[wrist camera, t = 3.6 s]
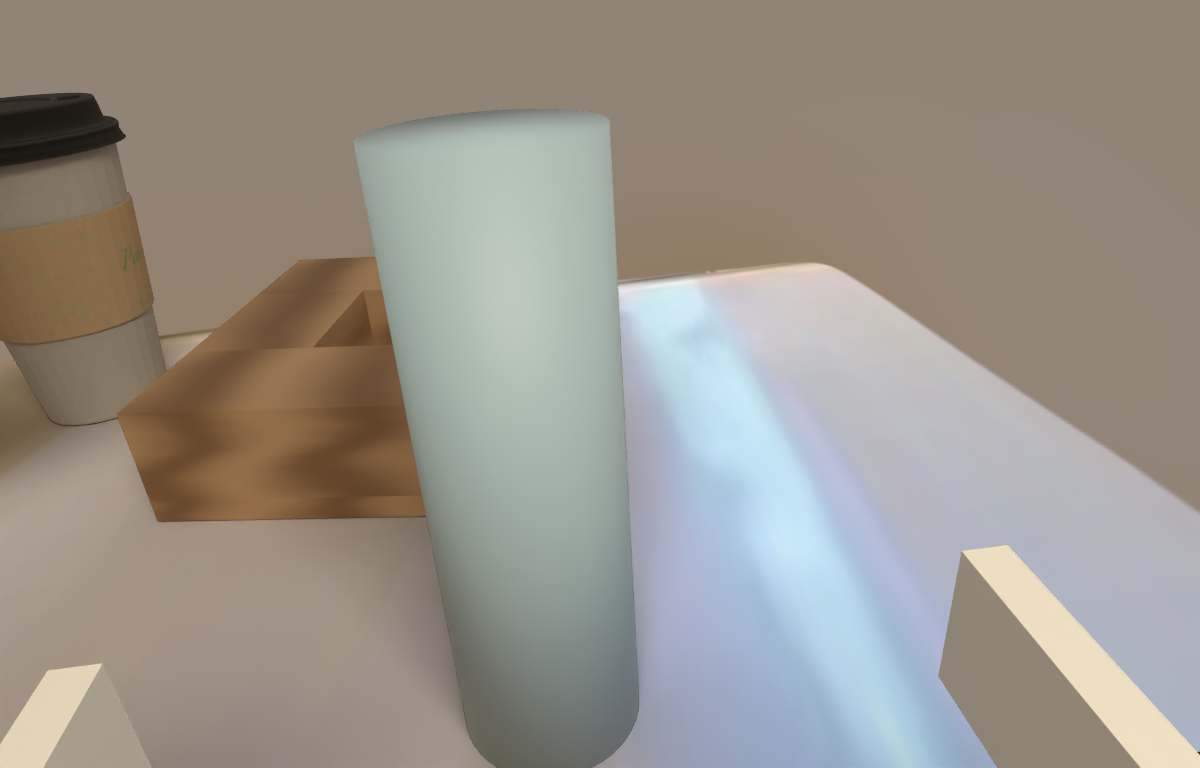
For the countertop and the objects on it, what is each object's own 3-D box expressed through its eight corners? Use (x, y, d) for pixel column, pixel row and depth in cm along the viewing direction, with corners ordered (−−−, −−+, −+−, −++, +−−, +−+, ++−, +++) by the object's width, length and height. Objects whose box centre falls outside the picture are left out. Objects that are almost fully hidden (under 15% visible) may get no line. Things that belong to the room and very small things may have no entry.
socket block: (157, 521, 32) (116, 413, 30) (319, 339, 48) (299, 259, 46) (601, 512, 31) (593, 399, 29) (616, 328, 47) (611, 246, 45)
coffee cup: (237, 383, 43) (149, 92, 36) (50, 465, 37) (-99, 129, 30) (151, 348, 49) (60, 88, 42) (-26, 414, 42) (-168, 117, 35)
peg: (448, 778, 21) (314, 162, 14) (483, 638, 25) (394, 115, 18) (638, 779, 21) (604, 147, 13) (639, 636, 25) (613, 104, 18)
